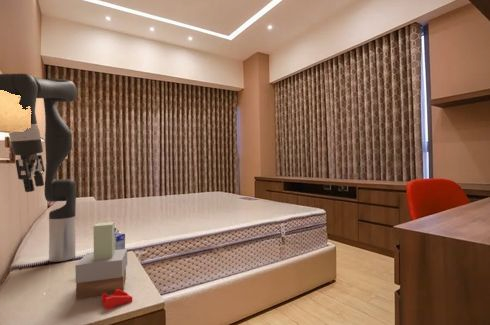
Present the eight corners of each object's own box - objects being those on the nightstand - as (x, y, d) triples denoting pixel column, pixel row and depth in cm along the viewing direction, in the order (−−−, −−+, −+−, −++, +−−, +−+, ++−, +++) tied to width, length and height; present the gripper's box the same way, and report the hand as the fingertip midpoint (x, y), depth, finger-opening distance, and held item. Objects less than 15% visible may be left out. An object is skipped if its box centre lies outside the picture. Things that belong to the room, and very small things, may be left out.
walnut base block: (85, 284, 85) (85, 269, 85) (125, 278, 89) (125, 263, 89) (76, 301, 74) (76, 283, 74) (123, 293, 78) (123, 276, 78)
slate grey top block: (87, 268, 86) (87, 252, 86) (127, 263, 89) (127, 248, 89) (75, 283, 74) (75, 265, 74) (122, 277, 78) (121, 260, 78)
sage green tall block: (97, 254, 83) (97, 223, 84) (114, 252, 85) (114, 221, 85) (93, 259, 79) (93, 226, 79) (112, 257, 80) (112, 224, 81)
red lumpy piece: (106, 311, 68) (106, 299, 68) (102, 304, 72) (102, 293, 72) (132, 302, 72) (132, 291, 73) (126, 296, 76) (126, 286, 76)
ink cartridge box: (126, 265, 101) (126, 227, 102) (116, 270, 96) (116, 230, 96) (103, 264, 103) (103, 226, 103) (92, 269, 98) (92, 229, 98)
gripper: (31, 139, 78) (41, 191, 81) (47, 137, 91) (55, 182, 94) (-1, 141, 76) (11, 195, 78) (21, 139, 89) (30, 185, 91)
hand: (35, 188), depth 86 cm, fingers open, 8 cm apart
